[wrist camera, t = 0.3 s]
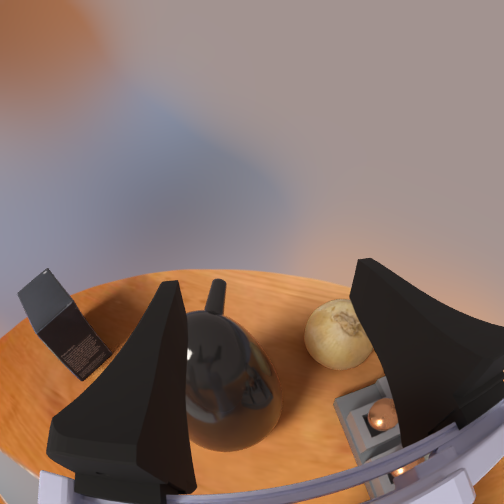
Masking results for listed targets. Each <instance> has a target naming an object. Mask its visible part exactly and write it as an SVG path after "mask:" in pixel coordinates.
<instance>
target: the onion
mask: <svg viewBox="0 0 504 504" xmlns="http://www.w3.org/2000/svg"><path fill="white" fill-rule="evenodd" d="M304 340H305V345H306V348H307V350H308V352H309V353H310V355H311V356H312V357H313V358H314V359H315V360H316V361H317V362H318V363H320V364H321V365H323V366H325V367H327V368H329V369H333V370H346V369H351V368H354V367H356V366H358V365H359V364H361V363H362V362H363V361H365V360H366V358H367V357H368V356H369V355H370V353H371V352H372V350H373V346H372V344H371V342H370V341H369V339H368V337H367V335H366V333H365V331H364V329H363V327H362V326H361V324H360V322H359V320H358V318H357V316H356V313H355V311H354V308H353V305H352V303H351V300H348V299H337V300H332V301H329V302H327V303H325V304H323V305H321V306H319V307H318V308H317V309H316V310H315V311H314V312H313V313H312V314H311V316H310V317H309V319H308V321H307V324H306V327H305V331H304Z"/></svg>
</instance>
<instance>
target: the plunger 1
mask: <svg viewBox="0 0 504 504" xmlns="http://www.w3.org/2000/svg"><path fill="white" fill-rule="evenodd" d="M368 422H369V424H370V425H371V427H372V428H373V429H375V430H378V431H388V430H390V429H392V428H393V427H394V426H395V425H396V424H397V423H398V418H397V414H396V409H395V405H394V401H393V399H390V398H383V399H380V400H378V401H376V402H375V403H374V404H373V406H372V407H371V409H370V410H369V412H368Z"/></svg>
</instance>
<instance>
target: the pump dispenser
mask: <svg viewBox="0 0 504 504" xmlns="http://www.w3.org/2000/svg"><path fill="white" fill-rule="evenodd" d="M226 285H227V284H226V282H225V281H224V280H222V279H214V280H213V281H212V285H211V288H210V292H209V295H208V299H207V302H206V305H205V309H204V310H198V311H192V312H188V313H186V315H187V324H188V353H187V370H186V412H187V423H188V432H189V440H191V441H192V442H194V443H195V444H197V445H199V446H201V447H203V448H206V449H209V450H213V451H219V452H232V451H239V450H243V449H246V448H249V447H251V446H253V445H255V444H257V443H258V442H260V441H261V440H263V439H264V438H265V437H266V436H267V435H268V434H269V433H270V432H271V431H272V430H273V429H274V427H275V426H276V424H277V422H278V420H279V418H280V415H281V412H282V406H283V394H282V388H281V384H280V381H279V378H278V375H277V373H276V370H275V368H274V366H273V364H272V362H271V360H270V359H269V357H268V355H267V354H266V352H265V351H264V349H263V348H262V347H261V345H260V344H259V343H258V342H257V340H256V339H255V338H254V337H253V336H252V335H251V334H250V333H249V332H248V331H247V330H246V329H245V328H244V327H243V326H241V325H240V324H239V323H237V322H236V321H235V320H233V319H231V318H229V317H227V316H224V305H225V295H226Z"/></svg>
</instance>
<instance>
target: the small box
mask: <svg viewBox="0 0 504 504" xmlns="http://www.w3.org/2000/svg"><path fill="white" fill-rule="evenodd" d="M18 297H19V299H20V301H21V303H22V305H23V308H24V310H25V312H26V315H27V317H28V319H29V321H30V323H31V325H32V327H33V329H34V331H35V333H36V334H37V336H38V337H39V338H40V339H41V340H42V341H43V343H44V344H45V345H46V346H47V347H48V348H49V349H50V350H51V352H52V353H53V354H54V355H55V356H56V357H57V358H58V359H59V360H60V361H61V362H62V363H63V364H64V365H65V366H66V367H67V368H68V369H69V370H70V371H71V372H72V373H73V374H74V375H75V376H76V377H77V378H78V379H79V380H81V381H83V380H85V379H86V378H87V377H88V376H89V375H90V374H91V373H92V372H93V371H95V370H96V369H97V368H98V367H99V366H100V365H101V364H102V363H103V362H104V361H105V360H107V359H108V358H109V357H110V356H111V355H112V352H111V351H110V350H109V349H108V347H107V346H106V345H105V344H104V343H103V341H102V340H101V339H100V338H99V336H98V335H97V334H96V332H95V331H94V330H93V328H92V327H91V326H90V325H89V323H88V322H87V320H86V319H85V318H84V316H83V315H82V313H81V312H80V310H79V309H78V307H77V305H76V303H75V302H74V300H73V299H72V298H71V297H70V295H69V294H68V293H67V292H66V290H65V289H64V288H63V287H62V286H61V284H60V283H59V282H58V280H57V279H56V278H55V277H54V275H53V274H52V273H51V271H50V270H49V268H47V269H45V270H44V271H43V272H42V273H41V274H39V275H38V276H37V277H36V278H35V279H33V280H32V281H31V282H30V283H29V284H27V285H26V286H25V287H24V288H23V289H22V290H20V291H19V292H18Z"/></svg>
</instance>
